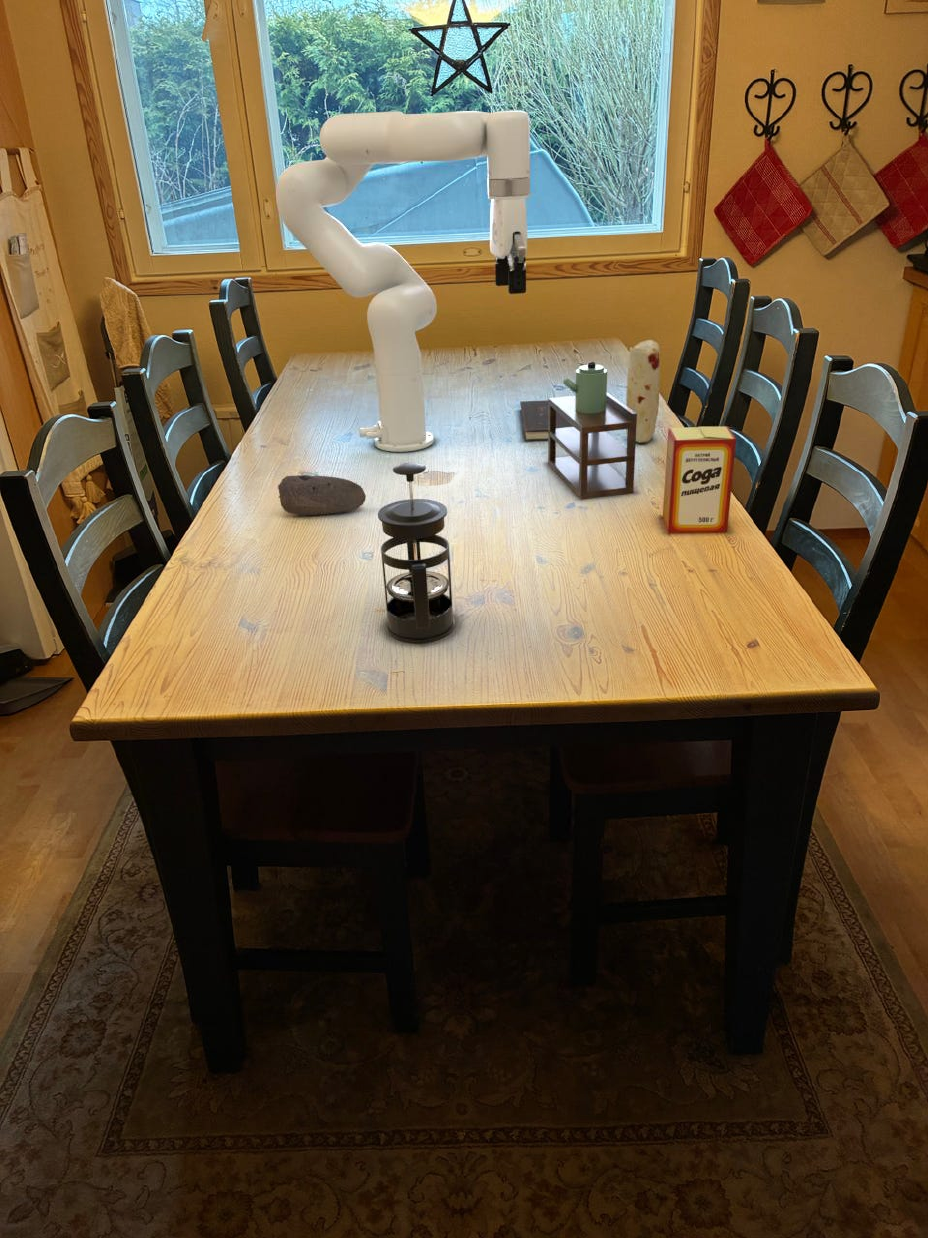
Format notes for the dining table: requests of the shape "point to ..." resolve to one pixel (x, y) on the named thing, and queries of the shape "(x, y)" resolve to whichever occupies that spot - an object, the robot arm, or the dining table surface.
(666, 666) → the dining table surface
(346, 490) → the perforated stone tool
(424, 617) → the french press
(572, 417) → the stand
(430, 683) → the dining table surface
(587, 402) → the kettle
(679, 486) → the baking soda box
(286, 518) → the dining table surface
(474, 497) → the dining table surface
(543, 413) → the hardcover book
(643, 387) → the food model
